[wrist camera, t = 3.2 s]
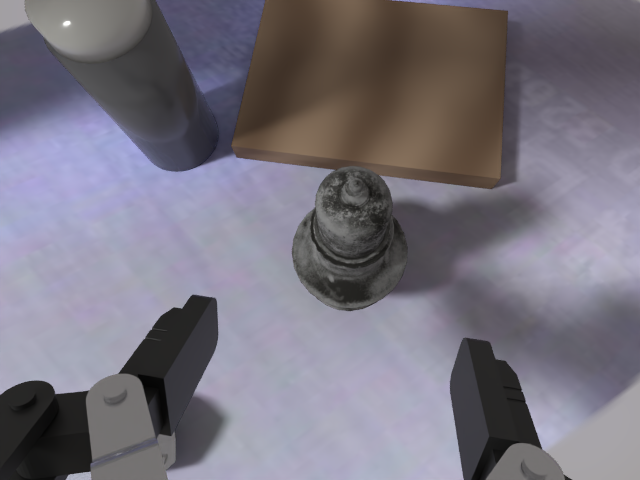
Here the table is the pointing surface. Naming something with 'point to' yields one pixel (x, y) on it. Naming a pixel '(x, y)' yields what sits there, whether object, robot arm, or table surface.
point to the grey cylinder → (132, 74)
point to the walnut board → (378, 89)
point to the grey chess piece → (350, 241)
